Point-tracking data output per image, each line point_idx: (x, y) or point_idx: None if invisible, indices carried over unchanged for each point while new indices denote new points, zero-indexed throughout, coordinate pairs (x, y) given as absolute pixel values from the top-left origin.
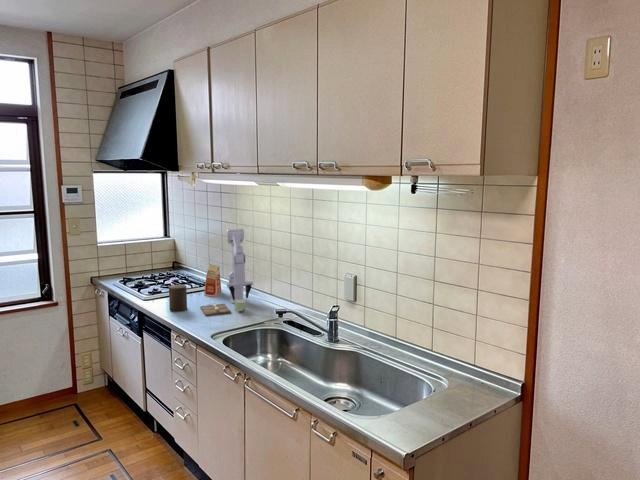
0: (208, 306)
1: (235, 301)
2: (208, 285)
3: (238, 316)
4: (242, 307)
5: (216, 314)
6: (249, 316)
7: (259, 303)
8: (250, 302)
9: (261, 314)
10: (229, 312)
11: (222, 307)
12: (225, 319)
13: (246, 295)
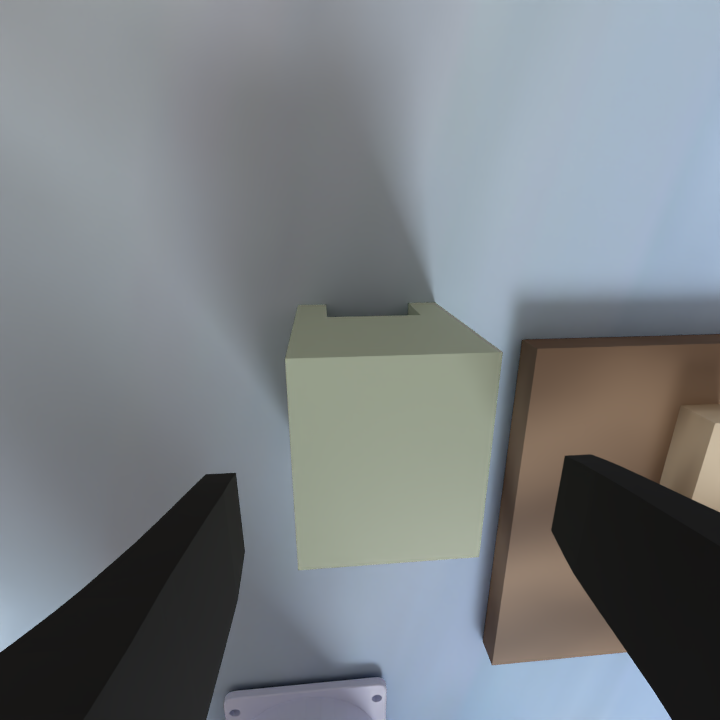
0: None
1: (481, 496)
2: None
3: (470, 125)
4: (364, 323)
5: (716, 335)
6: (293, 32)
7: None
8: None
9: (46, 60)
10: (544, 343)
11: None
12: (707, 46)
13: (219, 560)
